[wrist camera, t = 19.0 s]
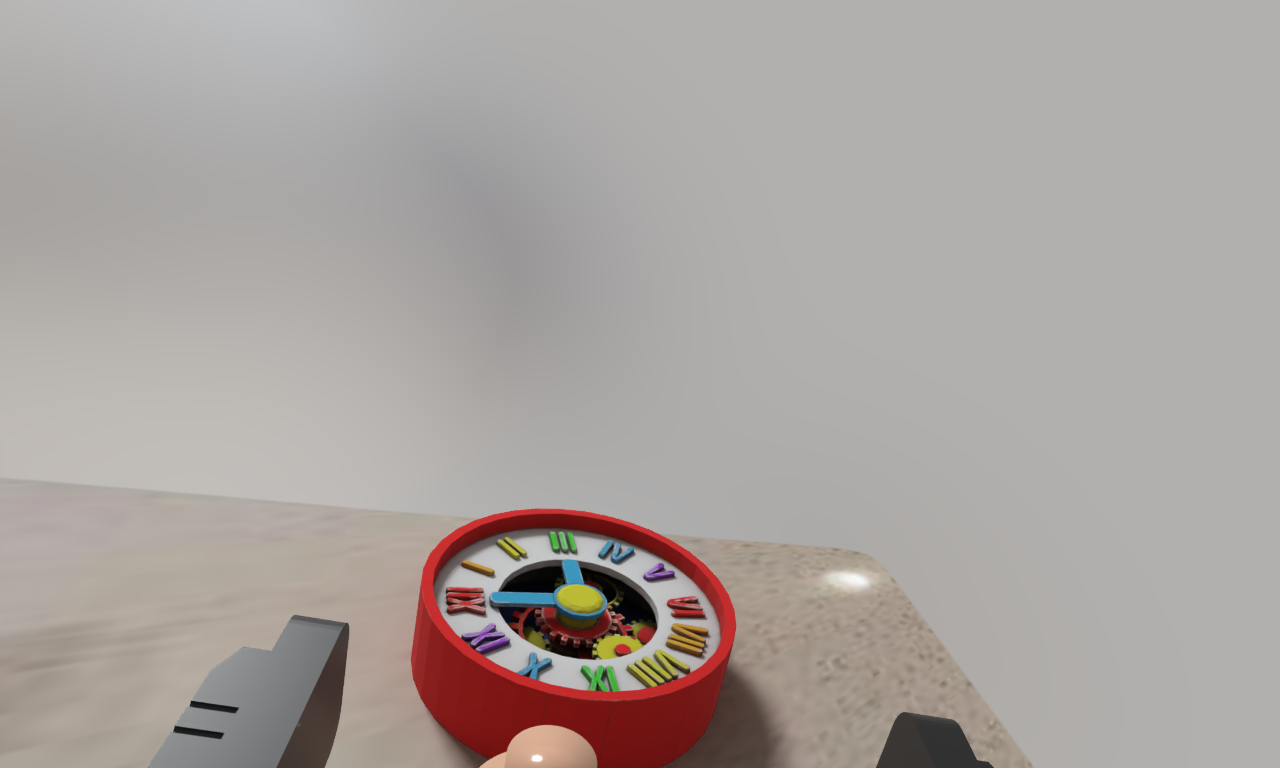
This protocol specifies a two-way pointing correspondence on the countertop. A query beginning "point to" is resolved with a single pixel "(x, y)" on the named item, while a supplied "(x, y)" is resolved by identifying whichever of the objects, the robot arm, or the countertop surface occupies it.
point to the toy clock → (571, 635)
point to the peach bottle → (546, 750)
